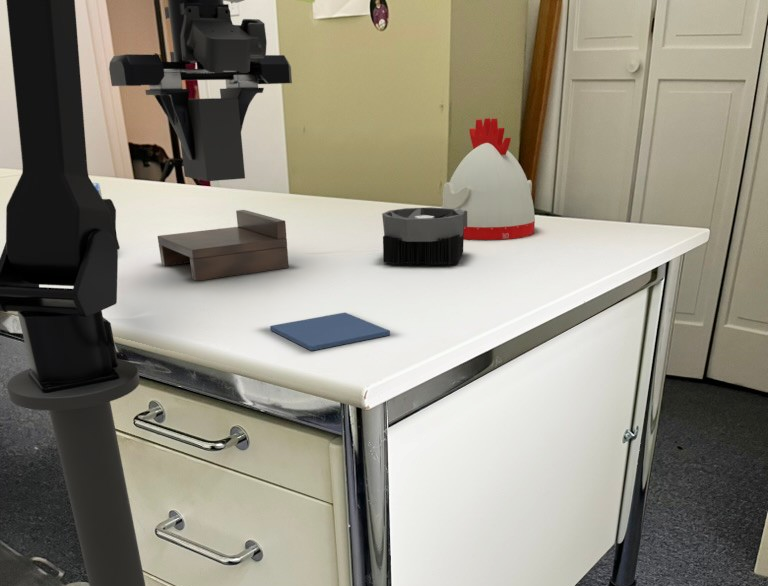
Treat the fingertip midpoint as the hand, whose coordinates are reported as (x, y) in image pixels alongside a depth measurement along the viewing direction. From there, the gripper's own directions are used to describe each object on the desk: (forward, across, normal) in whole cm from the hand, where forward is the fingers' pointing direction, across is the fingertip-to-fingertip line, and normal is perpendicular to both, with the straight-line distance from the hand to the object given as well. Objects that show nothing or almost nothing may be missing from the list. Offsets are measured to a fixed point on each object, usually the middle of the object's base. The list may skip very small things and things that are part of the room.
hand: (212, 158), depth 91 cm
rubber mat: (+13, -3, -30) cm, 33 cm away
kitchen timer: (+12, +43, +3) cm, 44 cm away
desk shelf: (+13, +2, +4) cm, 13 cm away
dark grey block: (+2, 0, 0) cm, 2 cm away
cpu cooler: (+13, +24, -8) cm, 28 cm away
